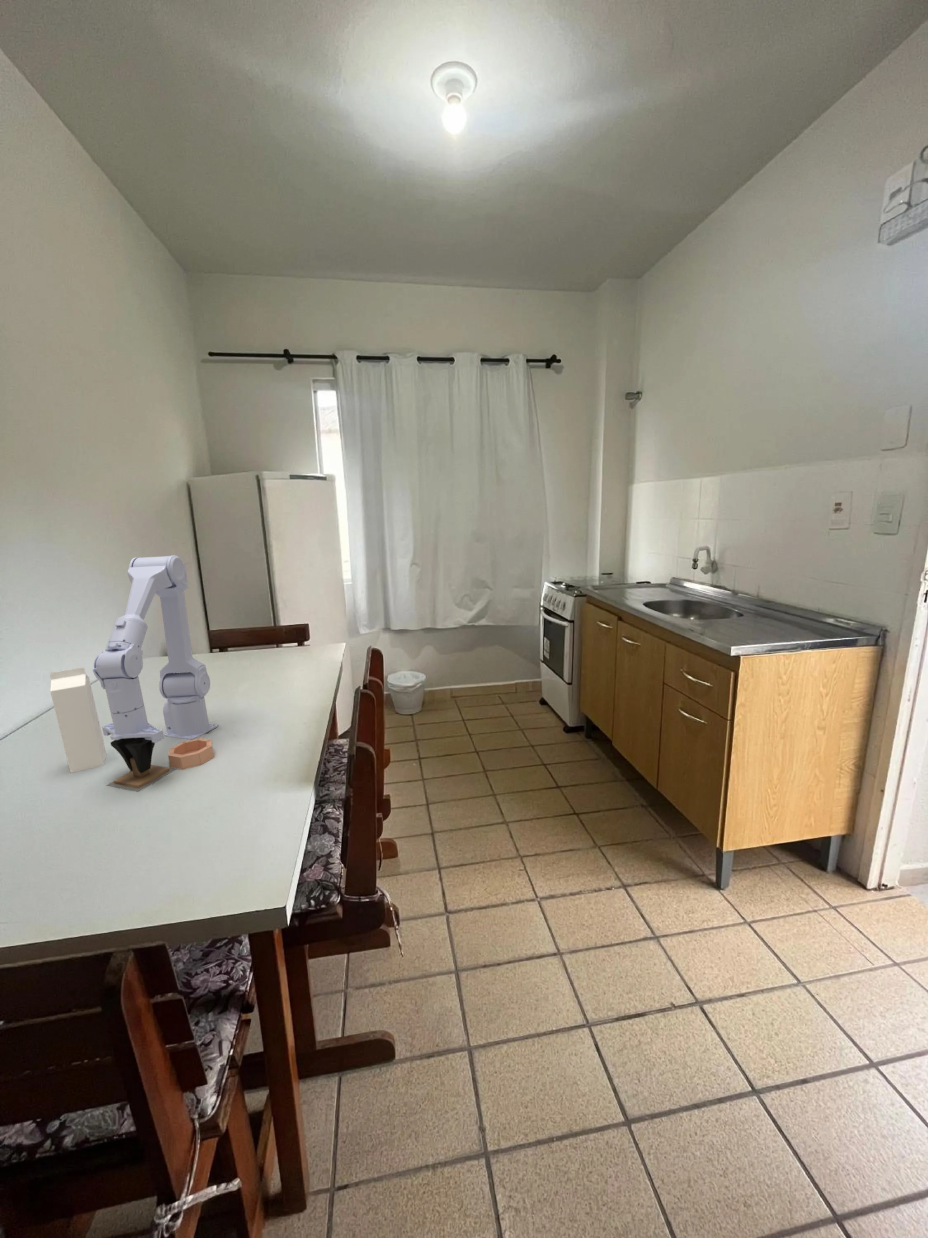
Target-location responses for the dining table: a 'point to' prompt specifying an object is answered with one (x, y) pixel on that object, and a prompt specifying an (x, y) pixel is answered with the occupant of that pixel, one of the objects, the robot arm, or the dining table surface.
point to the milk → (77, 719)
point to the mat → (142, 786)
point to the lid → (140, 776)
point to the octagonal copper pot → (191, 753)
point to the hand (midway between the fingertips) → (140, 769)
